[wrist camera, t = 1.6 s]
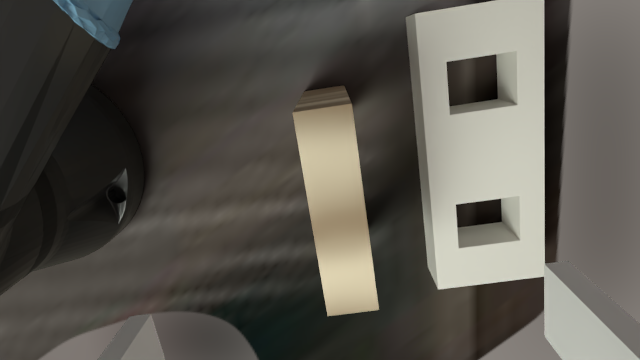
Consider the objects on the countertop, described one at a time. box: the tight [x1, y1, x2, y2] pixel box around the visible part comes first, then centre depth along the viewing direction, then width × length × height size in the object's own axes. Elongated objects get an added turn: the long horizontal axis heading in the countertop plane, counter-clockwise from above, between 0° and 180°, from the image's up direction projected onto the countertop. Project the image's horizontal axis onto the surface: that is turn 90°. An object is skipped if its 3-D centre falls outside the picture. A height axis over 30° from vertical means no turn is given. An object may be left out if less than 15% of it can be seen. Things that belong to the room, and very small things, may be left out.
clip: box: [293, 85, 379, 316], centre depth 28 cm, size 12×3×11 cm, turn 9°
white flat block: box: [406, 0, 545, 289], centre depth 31 cm, size 20×8×4 cm, turn 9°
